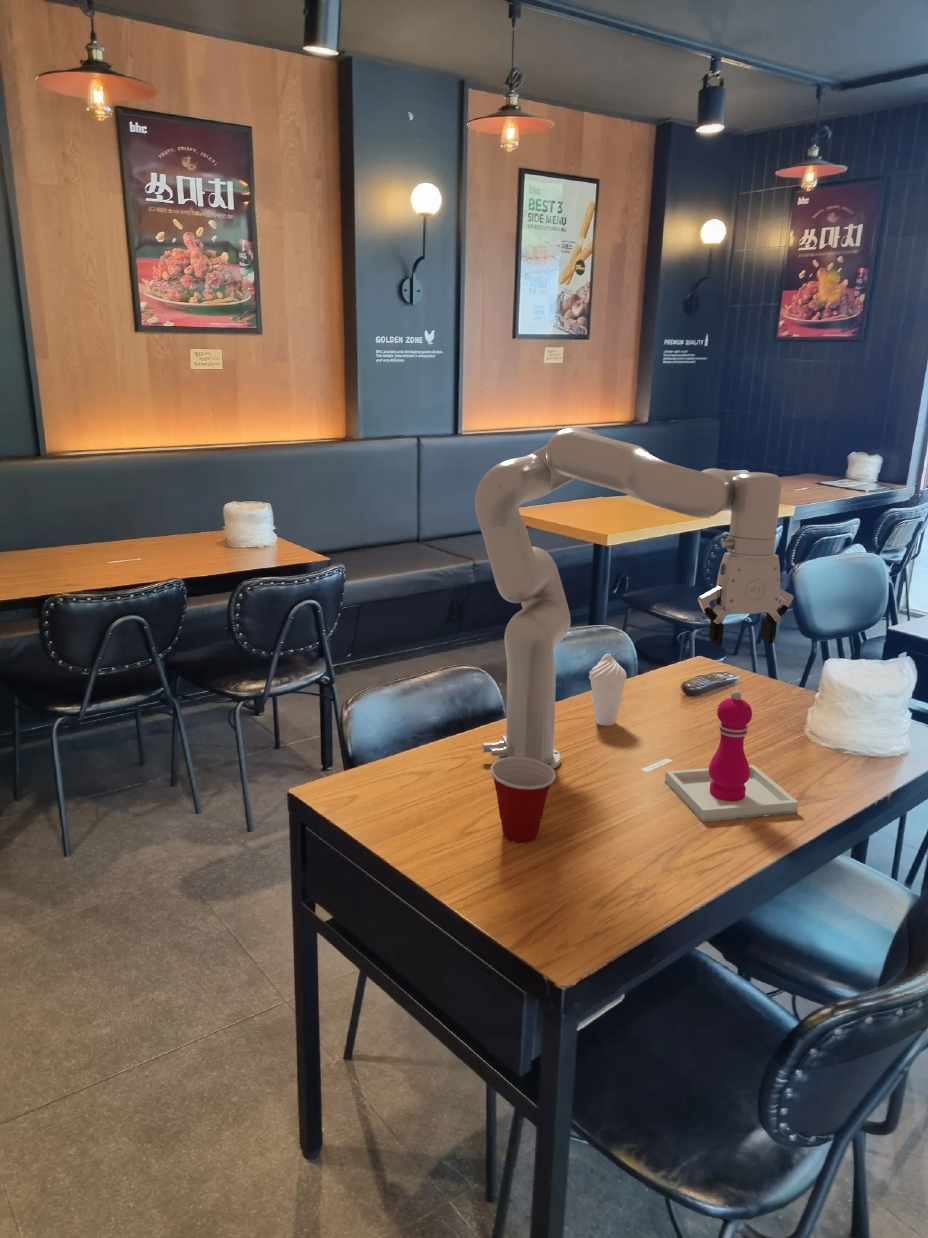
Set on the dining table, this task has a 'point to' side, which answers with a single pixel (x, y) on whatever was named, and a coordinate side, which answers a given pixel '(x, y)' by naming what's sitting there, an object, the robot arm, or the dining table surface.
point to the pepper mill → (731, 750)
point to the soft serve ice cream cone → (607, 689)
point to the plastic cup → (521, 795)
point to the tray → (757, 801)
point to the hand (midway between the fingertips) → (741, 642)
